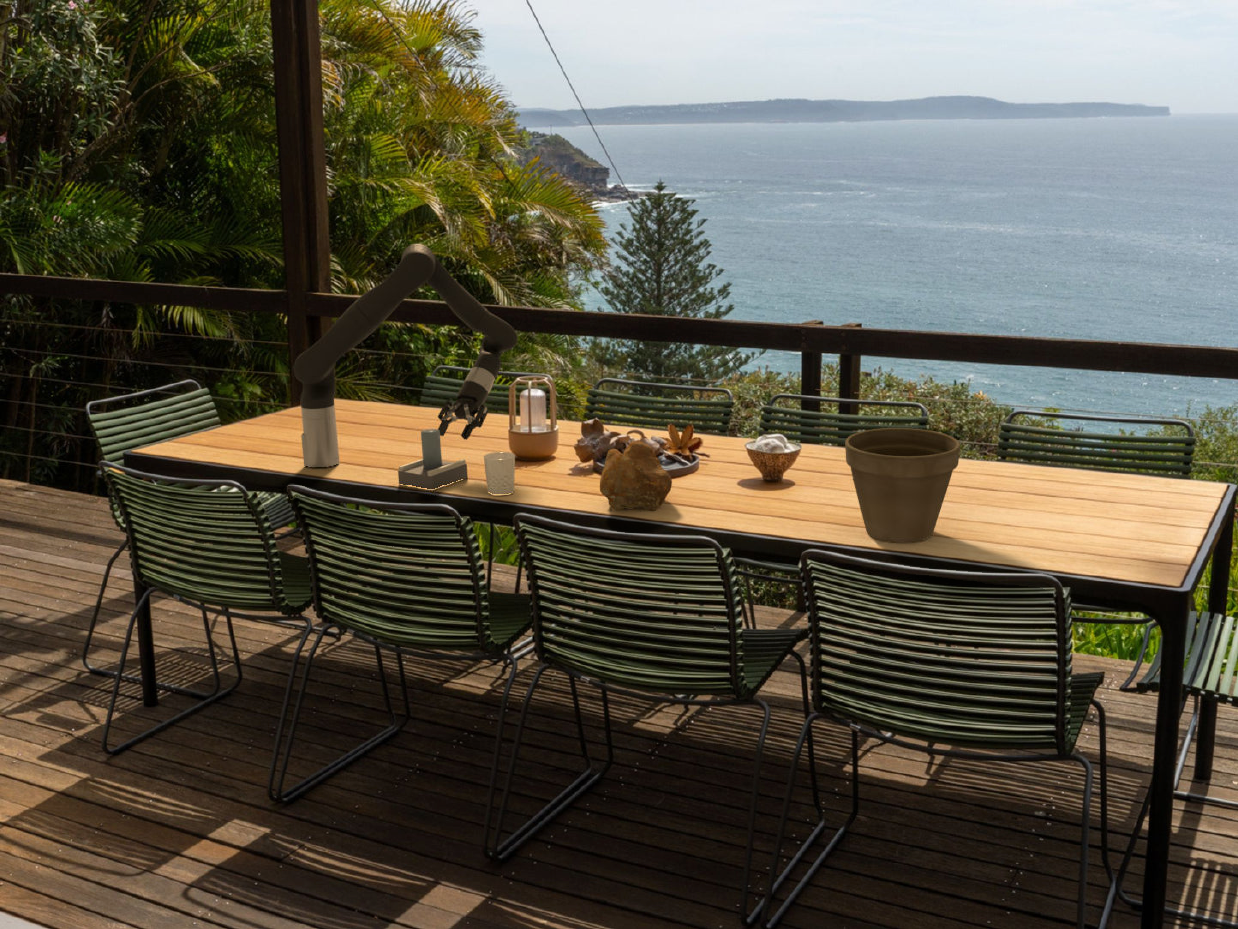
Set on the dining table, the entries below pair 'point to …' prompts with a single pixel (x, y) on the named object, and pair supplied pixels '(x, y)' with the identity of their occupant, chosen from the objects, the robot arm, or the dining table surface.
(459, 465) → the block
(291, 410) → the dining table surface
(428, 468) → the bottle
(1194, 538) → the dining table surface
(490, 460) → the white cup
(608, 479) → the rough brown rock
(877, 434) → the plant pot
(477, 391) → the robot arm
